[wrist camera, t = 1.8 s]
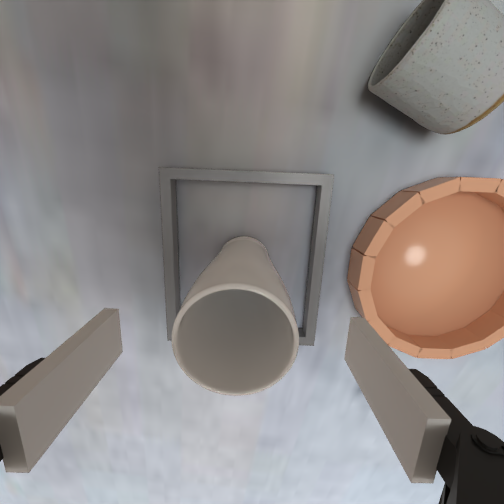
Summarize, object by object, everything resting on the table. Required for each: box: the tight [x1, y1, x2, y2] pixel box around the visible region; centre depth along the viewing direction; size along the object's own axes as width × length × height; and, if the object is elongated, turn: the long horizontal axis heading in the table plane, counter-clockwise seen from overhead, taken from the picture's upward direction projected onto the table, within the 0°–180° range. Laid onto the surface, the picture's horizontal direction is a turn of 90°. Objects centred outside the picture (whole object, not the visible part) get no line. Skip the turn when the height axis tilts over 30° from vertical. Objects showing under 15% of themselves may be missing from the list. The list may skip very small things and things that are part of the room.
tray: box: [159, 167, 334, 346], centre depth 27 cm, size 18×16×2 cm
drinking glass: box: [172, 236, 299, 396], centre depth 20 cm, size 7×7×15 cm
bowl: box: [347, 177, 504, 359], centre depth 26 cm, size 18×18×3 cm
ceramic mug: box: [368, 0, 504, 134], centre depth 19 cm, size 11×8×8 cm
